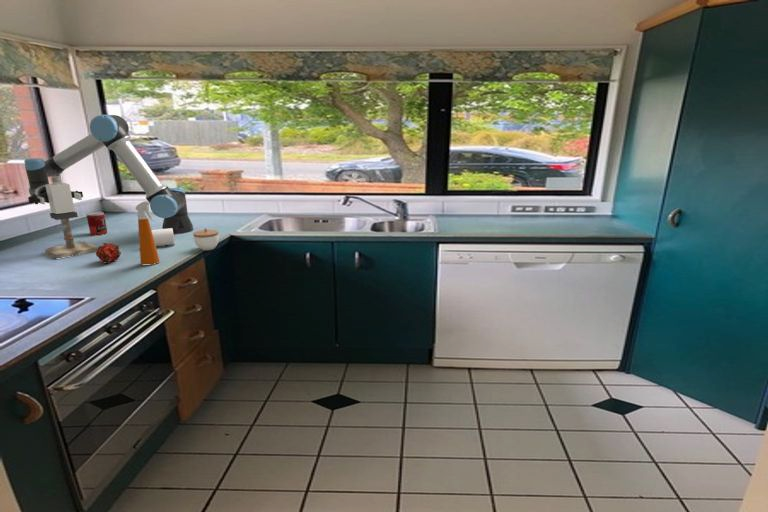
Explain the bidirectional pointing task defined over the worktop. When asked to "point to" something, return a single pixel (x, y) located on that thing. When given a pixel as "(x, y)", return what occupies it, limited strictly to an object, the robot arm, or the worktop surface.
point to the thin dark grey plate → (63, 215)
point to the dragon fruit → (108, 252)
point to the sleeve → (60, 198)
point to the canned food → (97, 223)
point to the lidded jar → (206, 239)
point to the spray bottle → (146, 235)
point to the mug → (163, 237)
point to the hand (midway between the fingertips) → (62, 199)
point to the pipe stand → (68, 238)
